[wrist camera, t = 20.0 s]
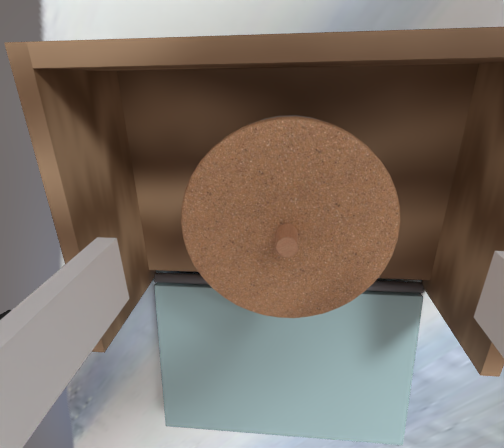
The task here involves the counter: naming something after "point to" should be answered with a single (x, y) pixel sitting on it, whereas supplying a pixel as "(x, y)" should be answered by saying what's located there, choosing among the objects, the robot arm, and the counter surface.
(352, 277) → the lidded jar
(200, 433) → the counter surface
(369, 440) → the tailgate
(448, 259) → the open wooden tray
